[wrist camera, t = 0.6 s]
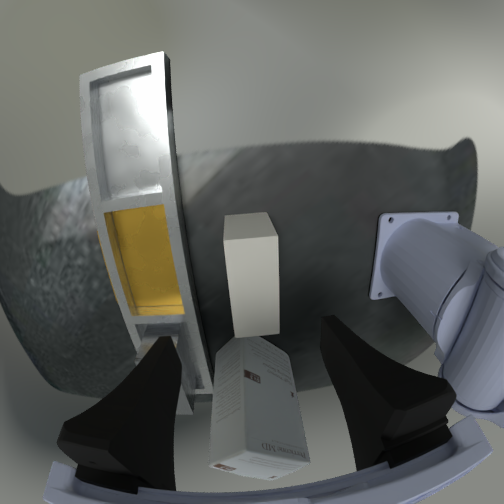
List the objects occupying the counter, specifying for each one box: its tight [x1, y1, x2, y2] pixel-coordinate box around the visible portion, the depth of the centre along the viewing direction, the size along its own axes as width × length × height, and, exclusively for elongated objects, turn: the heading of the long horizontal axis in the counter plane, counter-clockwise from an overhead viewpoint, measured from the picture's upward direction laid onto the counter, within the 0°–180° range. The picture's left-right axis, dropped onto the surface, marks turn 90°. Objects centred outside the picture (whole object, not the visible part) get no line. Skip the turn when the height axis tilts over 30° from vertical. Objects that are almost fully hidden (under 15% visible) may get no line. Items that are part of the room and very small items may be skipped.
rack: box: [80, 52, 214, 414], centre depth 18 cm, size 6×29×6 cm, turn 3°
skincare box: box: [209, 336, 310, 480], centre depth 20 cm, size 6×4×12 cm
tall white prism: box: [223, 212, 280, 338], centre depth 19 cm, size 3×7×5 cm, turn 3°
